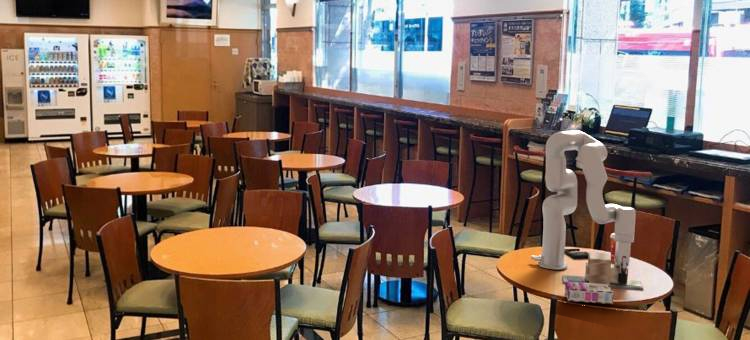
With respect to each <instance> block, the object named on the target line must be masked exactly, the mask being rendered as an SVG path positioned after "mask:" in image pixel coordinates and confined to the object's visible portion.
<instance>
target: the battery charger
mask: <svg viewBox="0 0 750 340" xmlns="http://www.w3.org/2000/svg"><path fill="white" fill-rule="evenodd" d="M580 250H581V249H580V248H565V252H564V255H567V256H568V257H569V258H571V257H572V259H573V260H588V254H589V251H580Z"/></svg>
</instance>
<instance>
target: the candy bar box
mask: <svg viewBox="0 0 750 340" xmlns="http://www.w3.org/2000/svg"><path fill="white" fill-rule="evenodd" d="M564 294H565V297H566V299H567V302H577V303H578V302H579V303H594V304H605V305H606V304H608V305H613V304H614V291H613V288H610V286H609V284H596V283H579V282H566V283H565V286H564Z"/></svg>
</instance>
